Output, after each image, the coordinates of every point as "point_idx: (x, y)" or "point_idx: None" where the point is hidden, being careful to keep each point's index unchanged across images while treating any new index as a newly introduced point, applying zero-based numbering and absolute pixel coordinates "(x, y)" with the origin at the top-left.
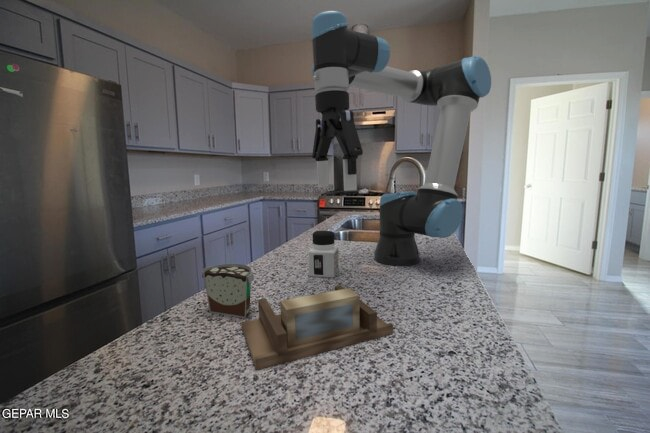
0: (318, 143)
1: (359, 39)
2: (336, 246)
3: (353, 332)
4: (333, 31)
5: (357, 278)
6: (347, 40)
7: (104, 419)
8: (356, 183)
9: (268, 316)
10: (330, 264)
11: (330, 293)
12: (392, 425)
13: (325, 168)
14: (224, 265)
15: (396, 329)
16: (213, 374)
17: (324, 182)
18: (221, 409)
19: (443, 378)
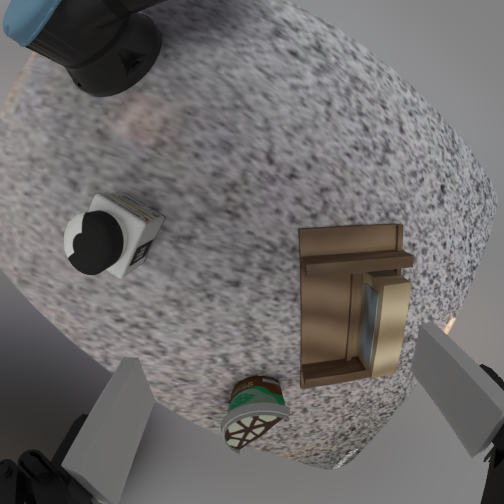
0: None
1: None
2: (100, 200)
3: None
4: None
5: (184, 171)
6: None
7: (371, 435)
8: (447, 336)
9: (356, 378)
10: (152, 228)
11: (386, 318)
12: (468, 290)
13: (106, 443)
14: (224, 436)
15: (391, 212)
16: (367, 397)
17: (137, 393)
18: (404, 386)
19: (460, 225)
